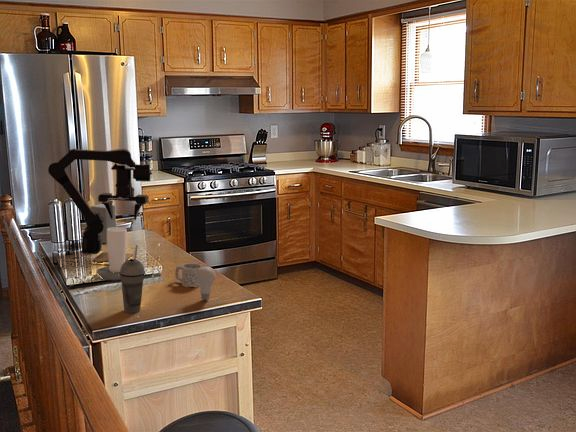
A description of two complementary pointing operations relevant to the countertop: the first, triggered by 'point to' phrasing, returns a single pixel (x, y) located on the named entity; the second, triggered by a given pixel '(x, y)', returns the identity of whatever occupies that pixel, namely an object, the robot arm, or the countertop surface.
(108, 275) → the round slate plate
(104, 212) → the skincare box
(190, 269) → the mug
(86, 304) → the countertop surface
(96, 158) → the robot arm
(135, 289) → the beverage cup
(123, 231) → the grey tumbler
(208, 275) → the lightbulb
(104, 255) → the square walnut board
